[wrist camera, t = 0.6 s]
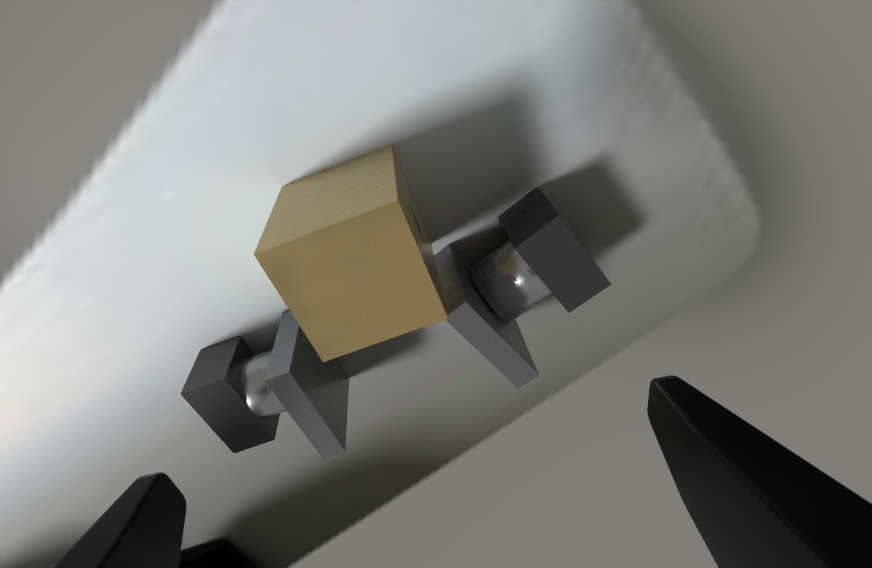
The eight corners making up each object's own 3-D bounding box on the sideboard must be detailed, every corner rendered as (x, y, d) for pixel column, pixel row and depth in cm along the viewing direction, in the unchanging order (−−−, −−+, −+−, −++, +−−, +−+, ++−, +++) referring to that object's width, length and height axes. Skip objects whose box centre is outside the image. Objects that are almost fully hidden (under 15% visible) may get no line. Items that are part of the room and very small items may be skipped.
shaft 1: (495, 323, 24) (518, 388, 20) (431, 258, 21) (443, 318, 18) (589, 256, 22) (634, 313, 19) (532, 179, 20) (568, 226, 16)
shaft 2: (251, 412, 25) (230, 489, 21) (195, 343, 22) (160, 417, 19) (349, 379, 24) (345, 451, 21) (303, 304, 22) (289, 372, 18)
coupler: (333, 278, 22) (323, 362, 17) (282, 186, 19) (253, 254, 14) (431, 242, 21) (448, 318, 16) (391, 143, 19) (397, 199, 14)
